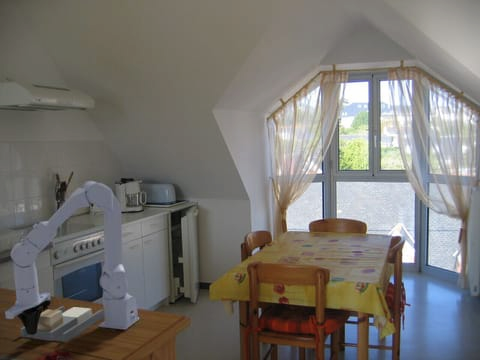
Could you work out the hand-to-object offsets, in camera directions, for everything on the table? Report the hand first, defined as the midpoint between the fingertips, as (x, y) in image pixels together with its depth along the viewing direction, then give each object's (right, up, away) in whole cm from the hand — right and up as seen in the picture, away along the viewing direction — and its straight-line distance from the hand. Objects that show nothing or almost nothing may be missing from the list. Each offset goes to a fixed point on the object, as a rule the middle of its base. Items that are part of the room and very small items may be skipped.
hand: (32, 333), depth 132 cm
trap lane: (+4, -2, +12) cm, 13 cm away
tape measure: (-10, -1, +31) cm, 33 cm away
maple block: (+2, 0, +7) cm, 7 cm away
